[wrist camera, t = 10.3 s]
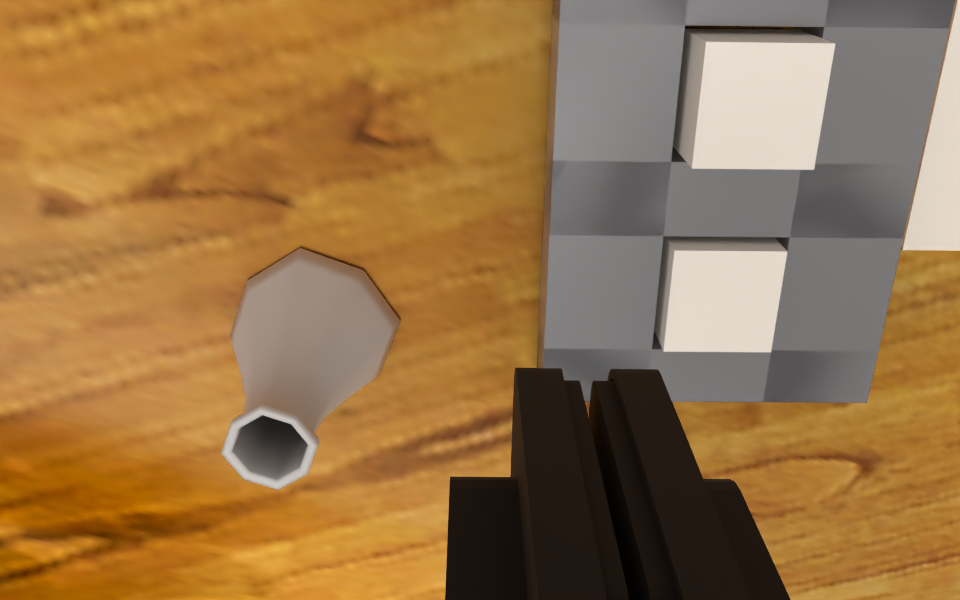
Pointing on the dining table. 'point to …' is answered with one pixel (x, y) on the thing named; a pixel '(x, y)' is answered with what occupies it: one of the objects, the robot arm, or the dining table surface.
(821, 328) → the button board
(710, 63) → the button
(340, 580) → the dining table surface
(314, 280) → the flask
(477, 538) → the robot arm
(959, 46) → the pattern card
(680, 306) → the button
